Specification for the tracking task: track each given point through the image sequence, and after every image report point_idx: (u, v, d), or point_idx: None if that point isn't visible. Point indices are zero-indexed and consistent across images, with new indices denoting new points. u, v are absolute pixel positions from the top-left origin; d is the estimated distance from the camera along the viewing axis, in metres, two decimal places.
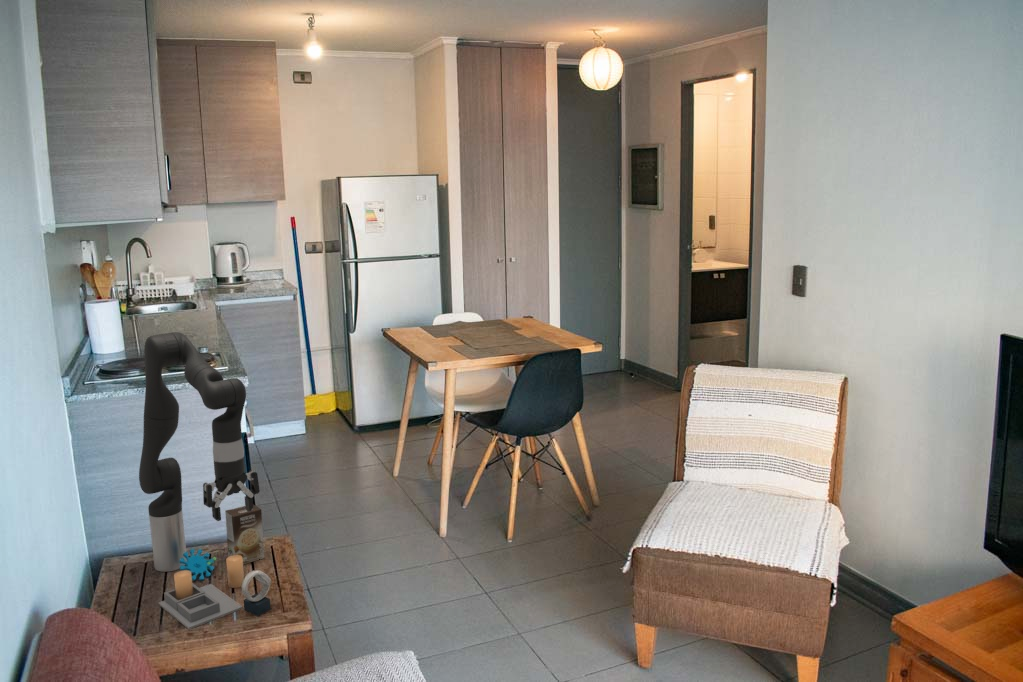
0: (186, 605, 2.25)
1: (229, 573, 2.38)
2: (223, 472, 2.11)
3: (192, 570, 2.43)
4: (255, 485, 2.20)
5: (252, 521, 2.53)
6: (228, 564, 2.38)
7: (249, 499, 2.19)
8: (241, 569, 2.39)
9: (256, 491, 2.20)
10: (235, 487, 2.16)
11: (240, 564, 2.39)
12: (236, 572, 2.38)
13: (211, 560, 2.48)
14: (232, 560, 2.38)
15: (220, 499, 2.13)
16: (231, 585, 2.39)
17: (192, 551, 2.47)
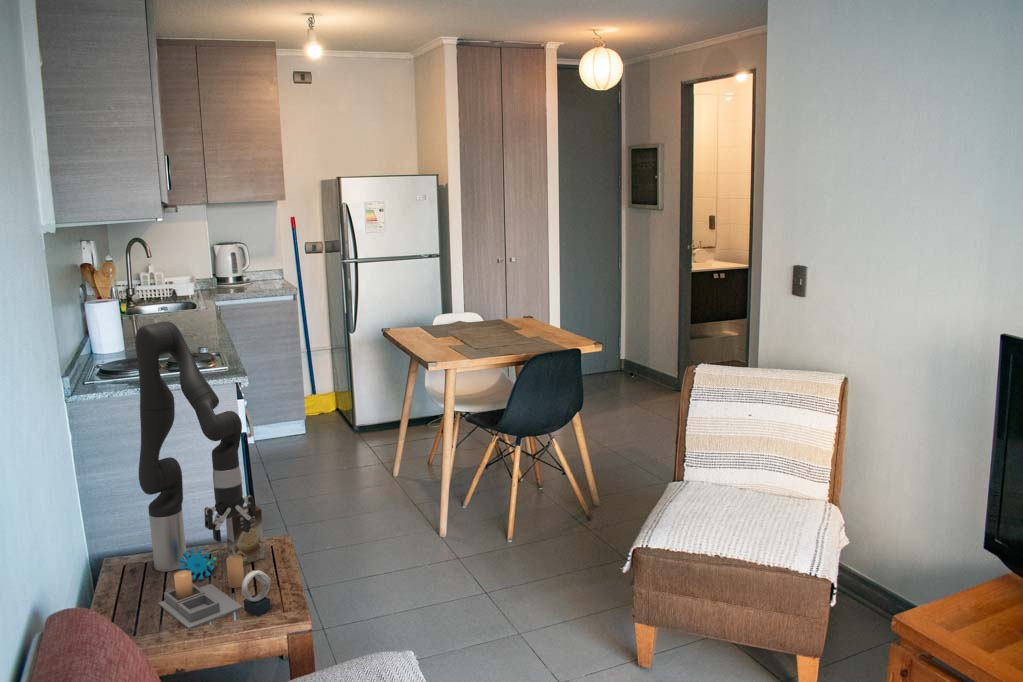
0: (186, 605, 2.25)
1: (229, 573, 2.38)
2: (222, 497, 2.32)
3: (192, 570, 2.43)
4: (252, 508, 2.40)
5: (252, 521, 2.53)
6: (228, 564, 2.38)
7: (247, 521, 2.39)
8: (241, 569, 2.39)
9: (253, 514, 2.40)
10: (234, 511, 2.36)
11: (240, 564, 2.39)
12: (236, 572, 2.38)
13: (211, 560, 2.48)
14: (232, 560, 2.38)
15: (220, 522, 2.33)
16: (231, 585, 2.39)
17: (192, 551, 2.47)
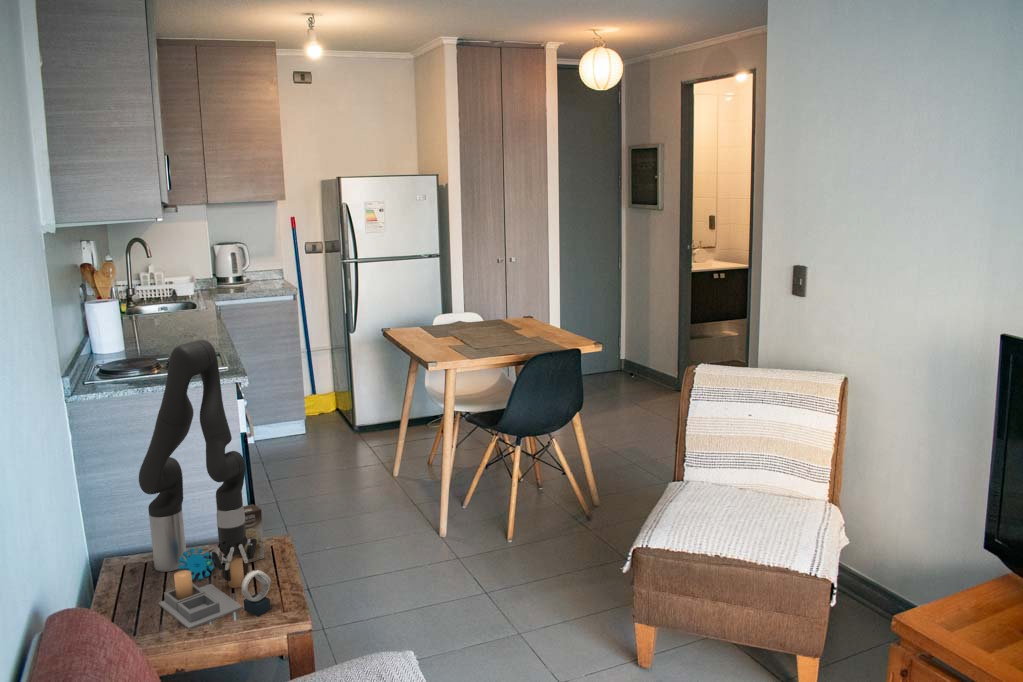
0: (186, 605, 2.25)
1: None
2: (226, 537, 2.34)
3: (191, 569, 2.43)
4: (251, 551, 2.42)
5: (252, 521, 2.53)
6: None
7: (244, 564, 2.41)
8: (241, 569, 2.39)
9: (250, 557, 2.42)
10: (237, 549, 2.38)
11: (240, 564, 2.39)
12: (236, 572, 2.38)
13: (211, 560, 2.48)
14: (232, 560, 2.38)
15: (228, 562, 2.37)
16: (231, 585, 2.39)
17: (192, 550, 2.47)
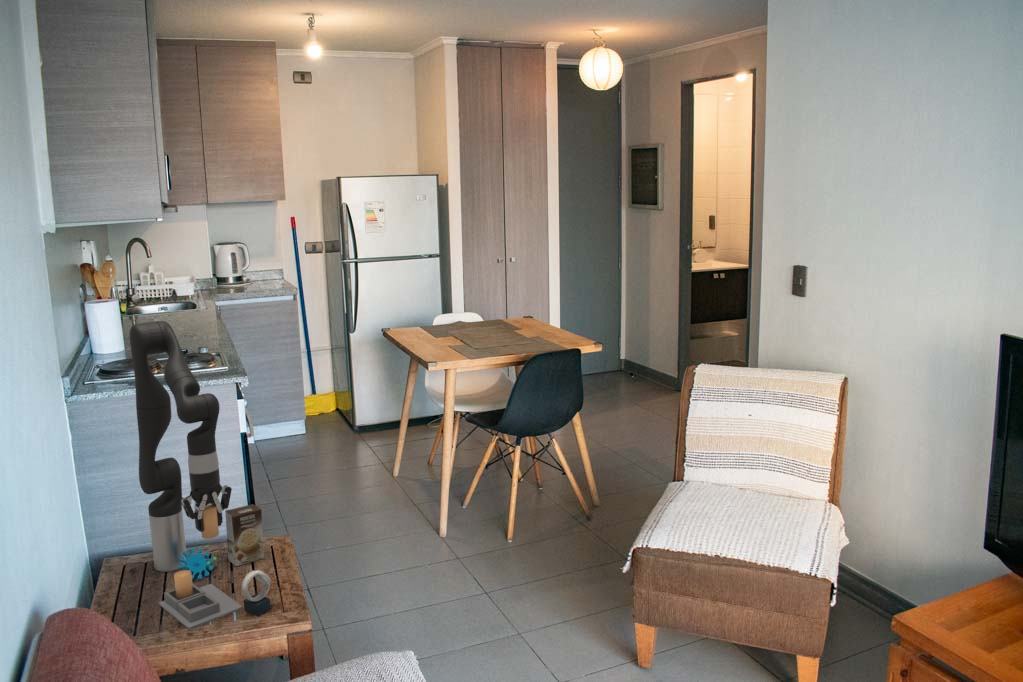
0: (186, 605, 2.25)
1: None
2: (198, 483, 2.21)
3: (190, 569, 2.44)
4: (226, 500, 2.28)
5: (252, 521, 2.53)
6: None
7: (218, 514, 2.27)
8: (215, 519, 2.26)
9: (225, 506, 2.28)
10: (210, 498, 2.25)
11: (214, 513, 2.25)
12: (210, 521, 2.24)
13: (211, 560, 2.49)
14: (206, 509, 2.24)
15: (200, 510, 2.23)
16: (205, 536, 2.25)
17: (192, 550, 2.47)
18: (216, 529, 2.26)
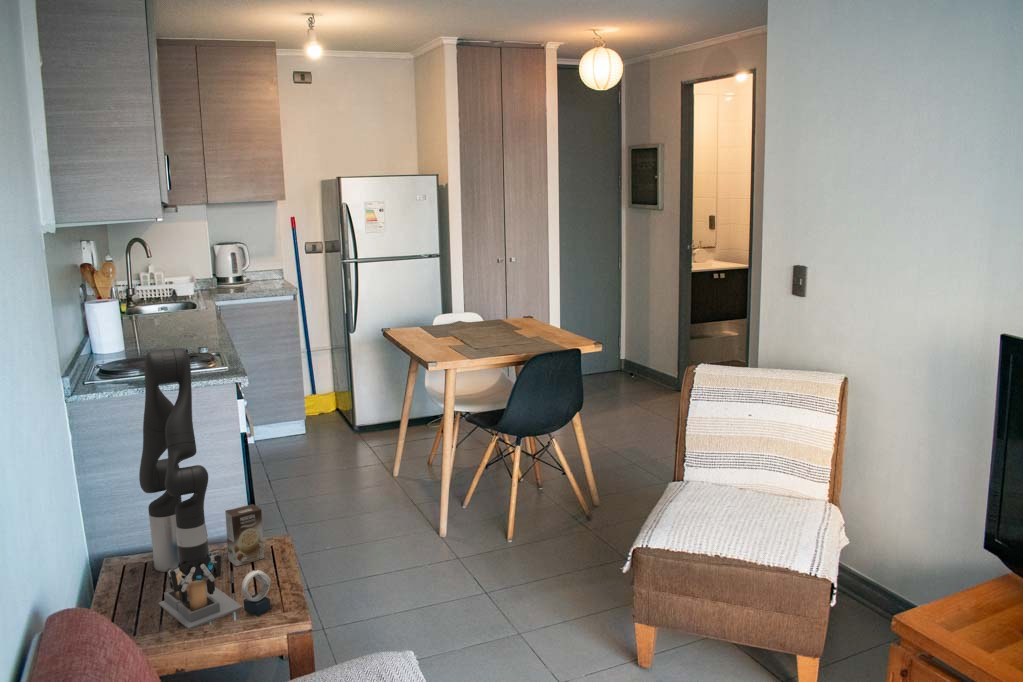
0: (186, 605, 2.25)
1: (191, 600, 2.22)
2: (186, 557, 2.17)
3: None
4: (217, 568, 2.25)
5: (252, 521, 2.53)
6: (190, 590, 2.21)
7: (210, 583, 2.25)
8: (204, 596, 2.23)
9: (217, 574, 2.26)
10: (199, 570, 2.22)
11: (203, 590, 2.22)
12: (199, 599, 2.22)
13: None
14: (195, 586, 2.21)
15: (186, 583, 2.19)
16: None
17: None
18: (205, 606, 2.23)
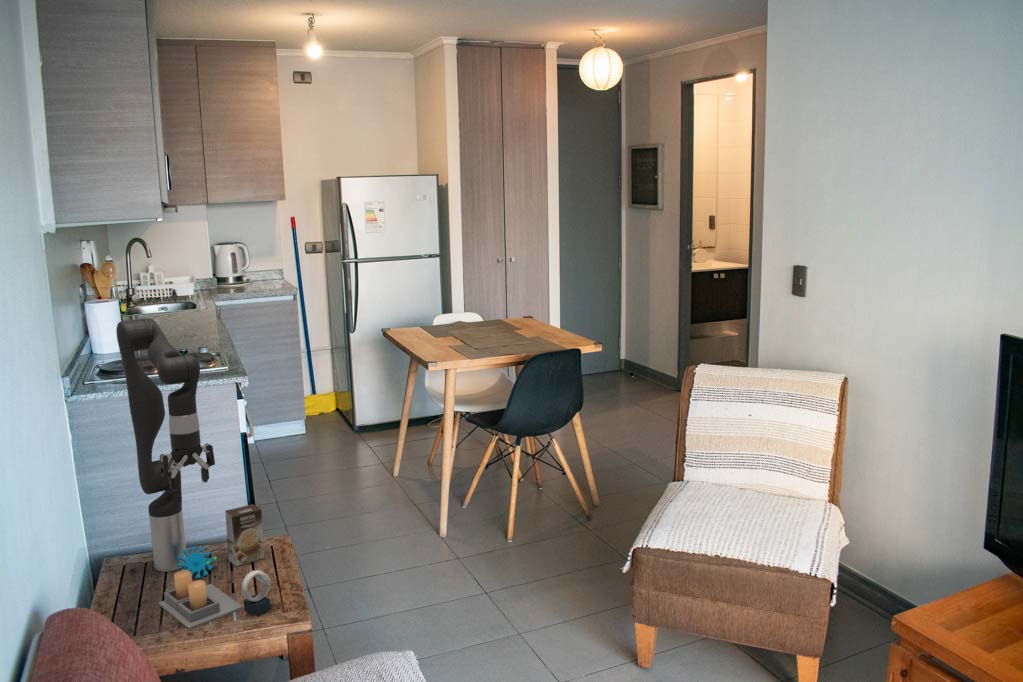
0: (186, 605, 2.25)
1: (191, 600, 2.22)
2: (178, 444, 2.23)
3: (189, 568, 2.44)
4: (210, 457, 2.31)
5: (252, 521, 2.53)
6: (190, 590, 2.21)
7: (205, 470, 2.31)
8: (204, 595, 2.23)
9: (211, 463, 2.32)
10: (191, 459, 2.27)
11: (203, 590, 2.22)
12: (199, 599, 2.22)
13: (211, 559, 2.49)
14: (194, 586, 2.21)
15: (176, 470, 2.25)
16: None
17: (193, 549, 2.48)
18: (205, 606, 2.23)
